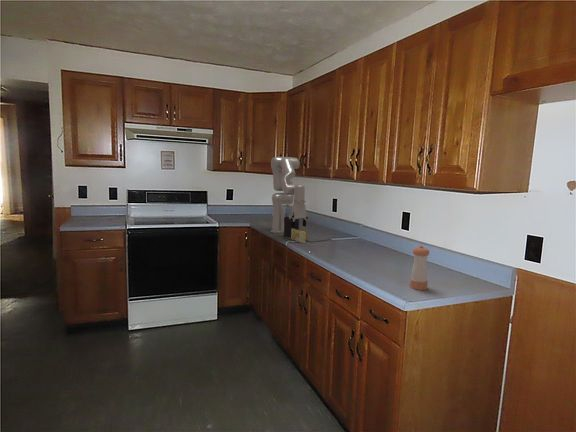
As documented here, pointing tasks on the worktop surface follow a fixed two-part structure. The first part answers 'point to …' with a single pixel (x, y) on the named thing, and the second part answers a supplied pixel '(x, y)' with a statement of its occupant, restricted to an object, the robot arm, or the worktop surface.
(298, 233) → the candy box
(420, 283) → the pepper shaker
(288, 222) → the calculator
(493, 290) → the worktop surface
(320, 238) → the mat
